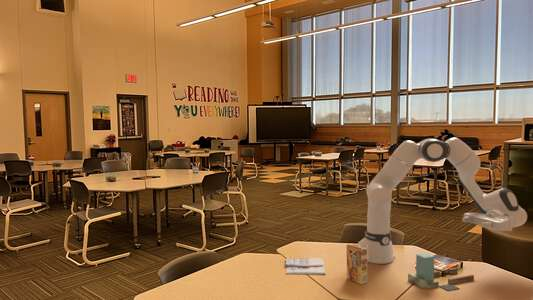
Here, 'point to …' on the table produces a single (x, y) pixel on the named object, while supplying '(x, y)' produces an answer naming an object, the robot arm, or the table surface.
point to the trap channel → (447, 287)
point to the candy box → (357, 263)
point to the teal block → (425, 267)
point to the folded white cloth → (295, 265)
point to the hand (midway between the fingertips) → (471, 222)
